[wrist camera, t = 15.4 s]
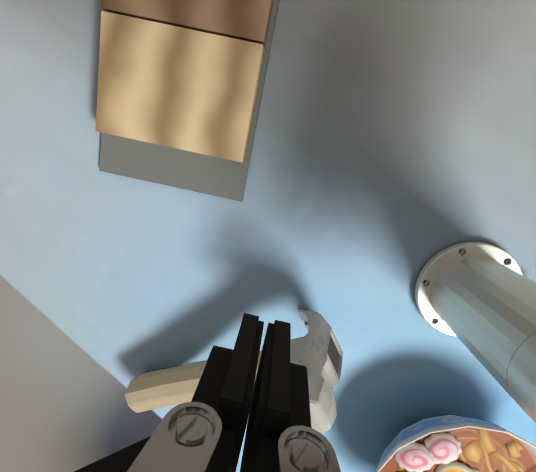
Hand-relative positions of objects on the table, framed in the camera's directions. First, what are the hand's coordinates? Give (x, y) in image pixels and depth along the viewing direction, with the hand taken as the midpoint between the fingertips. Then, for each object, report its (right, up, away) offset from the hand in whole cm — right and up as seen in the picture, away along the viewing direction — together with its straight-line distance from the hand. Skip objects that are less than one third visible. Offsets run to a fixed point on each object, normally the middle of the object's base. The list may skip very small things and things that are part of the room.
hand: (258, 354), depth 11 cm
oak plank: (-10, +20, +25) cm, 33 cm away
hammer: (-5, -12, +34) cm, 37 cm away
